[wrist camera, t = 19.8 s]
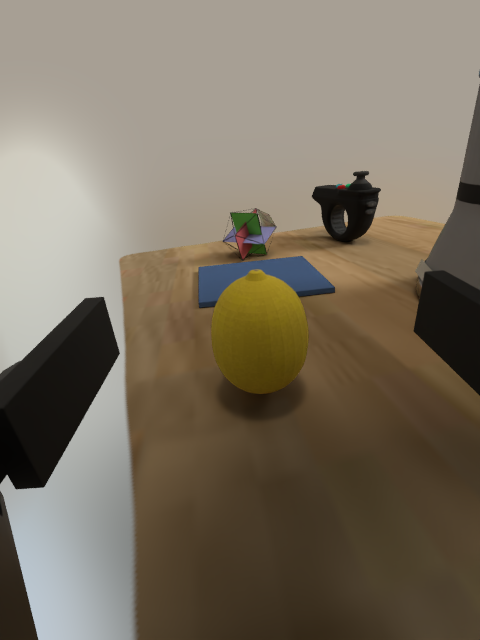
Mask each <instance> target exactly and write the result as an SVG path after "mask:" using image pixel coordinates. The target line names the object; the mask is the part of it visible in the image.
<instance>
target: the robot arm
mask: <svg viewBox="0 0 480 640" xmlns="http://www.w3.org/2000/svg"><path fill="white" fill-rule="evenodd" d="M479 77H480V71H479ZM415 272H416V273H417V274H418V281H417V286H416V291H417V294H418V296H419V297H420V299H419V305H418V310H417V316H416V321H415V326H414V332H415V333H416V334H417V335H418V336H419V337H420V338H421V339H422V340H423V341H424V342H425V343H426V344H427V345H428V346H429V347H430V348H431V349H432V350H433V351H434V352H436V353H437V354H438V355H439V356H440V357H441V358H442V359H443V360H444V361H445V362H446V363H447V364H448V365H449V366H450V367H451V368H452V369H453V370H454V371H455V372H456V373H457V374H458V375H459V376H460V377H461V378H462V379H463V380H464V381H465V382H466V383H467V384H468V385H469V386H470V387H472V388H473V389H474V390H475V391H476V392H477V393H478V394H479V395H480V86H479V91H478V96H477V100H476V105H475V110H474V115H473V120H472V125H471V130H470V135H469V139H468V145H467V149H466V154H465V159H464V164H463V169H462V174H461V178H460V183H459V188H458V192H457V198H456V202H455V206H454V209H453V212H452V213H451V215H450V217H449V219H448V221H447V222H446V224H445V226H444V228H443V230H442V231H441V233H440V235H439V237H438V239H437V241H436V243H435V245H434V247H433V249H432V251H431V253H430V255H429V257H428V258H427V260H425V262H424V261H423V260H422V259H421V261H420V263H419V265H418V267H417V269H416V271H415ZM119 354H120V353H119V349H118V346H117V342H116V339H115V335H114V332H113V328H112V325H111V321H110V318H109V314H108V310H107V307H106V304H105V300H104V297H96V298H85V299H84V300H83V301H82V302H81V303H80V304H79V305H78V306H77V307H76V308H75V309H74V310H73V311H72V312H71V313H70V314H69V315H68V316H67V317H66V318H65V319H64V320H63V321H62V322H61V323H60V324H58V325H57V326H56V327H55V328H54V329H53V330H52V331H51V332H50V333H49V334H48V335H47V336H46V337H45V338H44V339H43V340H42V341H41V342H40V343H39V344H38V345H37V346H36V347H35V348H34V349H33V350H32V351H31V352H30V353H29V354H28V355H27V356H26V357H25V358H24V359H23V360H22V361H19V362H17V363H15V364H14V365H12V366H11V367H9V368H7V369H6V370H4V371H3V372H2V373H1V374H0V483H1V482H2V481H3V479H4V478H5V476H6V475H8V476H9V478H10V480H11V482H12V483H13V485H14V487H15V489H27V488H41V487H44V486H45V485H46V483H47V481H48V479H49V478H50V476H51V474H52V472H53V471H54V469H55V467H56V465H57V464H58V461H59V460H60V458H61V457H62V455H63V453H64V451H65V449H66V448H67V446H68V444H69V442H70V441H71V439H72V437H73V435H74V434H75V432H76V430H77V428H78V426H79V425H80V423H81V421H82V419H83V418H84V416H85V414H86V412H87V411H88V409H89V407H90V405H91V403H92V402H93V400H94V398H95V396H96V394H97V393H98V391H99V389H100V388H101V386H102V384H103V382H104V380H105V379H106V377H107V375H108V373H109V372H110V370H111V368H112V366H113V365H114V363H115V361H116V359H117V357H118V355H119ZM0 640H38V637H37V632H36V628H35V624H34V620H33V616H32V612H31V608H30V604H29V600H28V596H27V592H26V587H25V583H24V579H23V575H22V571H21V567H20V563H19V559H18V555H17V551H16V547H15V543H14V539H13V535H12V530H11V526H10V522H9V518H8V514H7V510H6V506H5V502H4V497H3V495H2V493H1V492H0Z"/></svg>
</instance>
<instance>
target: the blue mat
mask: <svg viewBox="0 0 480 640" xmlns="http://www.w3.org/2000/svg"><path fill="white" fill-rule="evenodd" d="M255 269H259V270H262V271H263V272H264V273H265V274H266V275H270V276H273V277H276V278H278V279H280V280H282V281H284V282H285V283H286V284H288V285H289V286H290V287H291V288H292V289H293V290H294V291H295V292H296V294H297V295H298V297H299V296H307V295H316V294H325V293H333V292H335V287H334V286H333V285H332V284H331V283H330V282H329V281H328V280H327V279H326V278H325V277H324V276H323V275H322V274H320V273H319V272H318V271H317V270H316V269H315V268H314V267H313V266H312V265H311V264H310V263H309V262H308V261H307V260H306V259H305V258H304V257H303V256H298V257H289V258H279V259H270V260H261V261H251V262H242V263H232V264H223V265H214V266H204V267H199V308H203V307H212V306H215V305H216V303H217V301H218V299H219V297H220V295H221V294H222V293H223V291H224V290H225V289H226V288H227V287H228V286H229V285H230V284H231V283H233V282H234V281H236V280H238V279H240V278H242V277H244V276H246V275H247V274H248V273H249V272H250V271H251V270H255Z"/></svg>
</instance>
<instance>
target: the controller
mask: <svg viewBox="0 0 480 640" xmlns="http://www.w3.org/2000/svg"><path fill="white" fill-rule="evenodd" d="M368 174H369V172H368V171H361V172H354V173H353V175H354V176H357V179H356V180H355V181H354V182H353V183H351V184H347V185H346V186H344V185H342V184H338V185H325V186H318V187H315V189H314V192H313V195H312V197H313V199H314V200H315V201H317V202H318V203H319V204H320V205H321V210H322V220H323V223H324V226H325V228H326V230H327V232H328V233H329V234H330V235H331V236H332V237H333V238H335V239H337V240H339V241H349V240H354V239H357V238H359V237H361V236H362V235H364V234H365V233H366V232H367V230H368V229H369V227H370V226H371V224H372V221H373V218H374V214H375V211H376V207H377V204H378V199H379V198H378V193H379V192H380V191H381V189H380V188H372V185H371V184H370V183H369V182H368V181H367V180H366V179H365V176H366V175H368ZM345 210H346V212H347V215H348V226H347V227H346V226H345V222H344V211H345Z"/></svg>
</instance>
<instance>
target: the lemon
mask: <svg viewBox="0 0 480 640" xmlns="http://www.w3.org/2000/svg"><path fill="white" fill-rule="evenodd" d="M211 336H212V348H213V353H214V357H215V359H216V362H217V364H218V366H219V368H220V370H221V371H222V373H223V375H224V376H225V377H226V378H227V379H228V380H229V381H230V382H231V383H232V384H233V385H235V386H236V387H238V388H240V389H242V390H244V391H246V392H250V393H255V394H266V393H272V392H275V391H278V390H280V389H282V388H284V387H286V386H287V385H288V384H289V383H290V382H292V381H293V380H294V379H295V377H296V376H297V375H298V373H299V372H300V370H301V368H302V367H303V364H304V362H305V358H306V354H307V348H308V338H309V335H308V324H307V319H306V315H305V312H304V309H303V306H302V303H301V301H300V299H299V297H298V295H297V294H296V292H295V291H294V290H293V289H292V288H291V287H290V286H289V285H288V284H286V283H285V282H284V281H282V280H280V279H278V278H276V277H273V276H270V275H266V274H265V273H264V272H263V271H262V270H259V269H255V270H251V271H250V272H249V273H248V274H247V275H246V276H244V277H242V278H240V279H238V280H236V281H234V282H233V283H231V284H230V285H229V286H228V287H227V288H226V289H225V290H224V291H223V293H222V294H221V295H220V297H219V299H218V301H217V303H216V305H215V308H214V312H213V317H212V326H211Z"/></svg>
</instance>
